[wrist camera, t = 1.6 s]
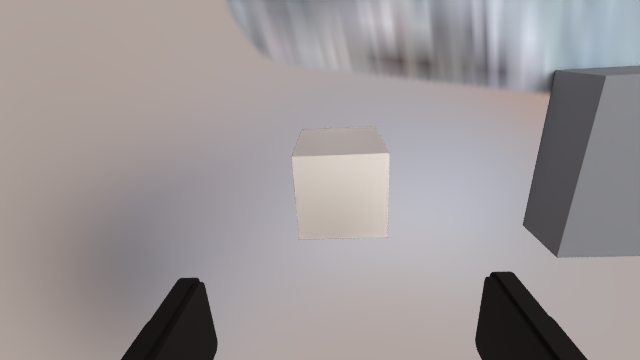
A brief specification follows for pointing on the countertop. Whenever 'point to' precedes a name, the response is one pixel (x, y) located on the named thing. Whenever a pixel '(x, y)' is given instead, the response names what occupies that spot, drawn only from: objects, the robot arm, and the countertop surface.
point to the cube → (341, 183)
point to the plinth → (589, 165)
